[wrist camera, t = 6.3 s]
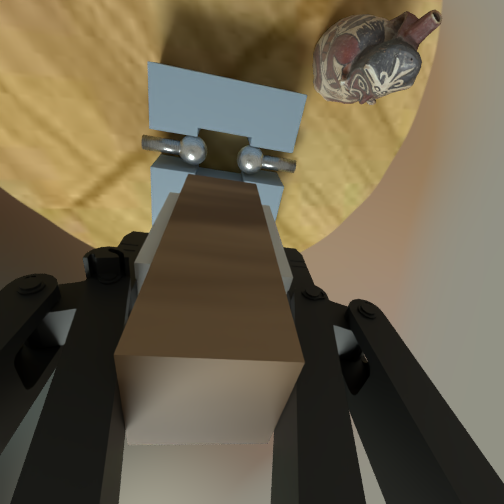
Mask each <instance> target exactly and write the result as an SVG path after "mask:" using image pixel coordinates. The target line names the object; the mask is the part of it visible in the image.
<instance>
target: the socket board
mask: <svg viewBox="0 0 504 504" xmlns="http://www.w3.org/2000/svg"><path fill="white" fill-rule="evenodd" d="M148 92H149V128H150V129H155V130H161V131H166V132H172V133H178V134H184V135H190V136H195V137H197V136H198V134H199V132H200V130H201V129H207V130H212V131H218V132H224V133H229V134H235V135H241V136H246V137H247V138H248V141H249V144H250V146H253V147H259V148H265V149H271V150H277V151H282V152H288V153H293V149H294V145H295V141H296V137H297V133H298V129H299V125H300V122H301V118H302V114H303V110H304V106H305V102H306V98H307V95H305V94H301V93H297V92H293V91H289V90H284V89H279V88H275V87H270V86H265V85H260V84H256V83H251V82H246V81H242V80H237V79H232V78H227V77H223V76H218V75H213V74H209V73H204V72H199V71H194V70H190V69H185V68H180V67H176V66H171V65H166V64H161V63H155V62H148ZM188 174H194V175H201V176H207V177H214V178H221V179H227V180H234V181H241V182H248V183H254V184H256V185H257V189H258V192H259V196H260V200H261V203H262V205H268V206H270V209H271V212H272V215H273V218H274V221H275V220H276V216H277V212H278V208H279V205H280V201H281V197H282V193H283V189H284V186H283V184H282V182H281V180H280V178H279V176H278V174H277V173H276V172H269V171H263V170H259V171H258V172H256V173H253V174H248V173H245V172H243V171H241V174H240V173H234V172H227V171H221V170H214V169H208V168H201V167H199V164H198V165H190V164H187V163H186V162H184V161H183V160H182V158H181V157H174V156H168V155H162V154H161V155H160V156H159V157H158V158H157V160H156V161H155V162H154V163H153V165H152V166H151V198H152V226H153V224H154V222H155V220H156V218H157V216H158V214H159V212H160V210H161V209H162V207H163V205H164V203H165V201H166V199H167V197H168V195H169V193H170V192H173V193H180V192H181V190H182V187H183V185H184V182H185V180H186V178H187V175H188Z"/></svg>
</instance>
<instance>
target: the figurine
mask: <svg viewBox="0 0 504 504" xmlns="http://www.w3.org/2000/svg"><path fill="white" fill-rule="evenodd" d="M441 21H442V16H441V14H440V13H439V12H438V11H436V10H432V11H430V12H428V13H427V14H425V15H424V16H422V17H421V18H420V19H418V18H417V17H416V16H415V15H414V14H412V13H410V12H408V11H406V12H404V13H403V14H401V15H400V16H398V17H396V18H394V19H392V20H390V21H389V20H387V19H385V18H382V17H377V16H374V15H370V14H364V15H351V16H349V17H346V18H343V19H341V20H339V21H338V22H337V23H335V24H334V25H332V26H331V27H330V28H329V29H328V30H327V31H326V32H325V33H324V34H323V35H322V37H321V38H320V40H319V41H318V43H317V45H316V47H315V50H314V53H313V74H314V81H313V83H314V88H315V90H316V91H317V92H318V93H320V94H321V95H322V97H323V98H324V99H325V100H326V101H335V102H341V103H344V104H351V103H355V102H357V101H359V103H360V104H363V103H365V102H367V103H368V104H369V105H374V104H375V103H376V100H375V99H378V98H380V97H382V96H385V95H388V94H390V93H393V92H396V91H401V90H405V89H408V88H410V87H411V86H412V85H413V83H414V81H415V79H416V76H417V75H418V73H419V71H420V68H421V63H422V60H421V57H420V55H419V53H418V52H417V49H418V47H419V44H420V43H421V42H422V41H423V40H424V39H425V38H426V37H427V36H428V35H429V34H430V33H431V32H432V31H434V30H435V29H436V28H437V27H438V26H439V25H440V24H441Z"/></svg>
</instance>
